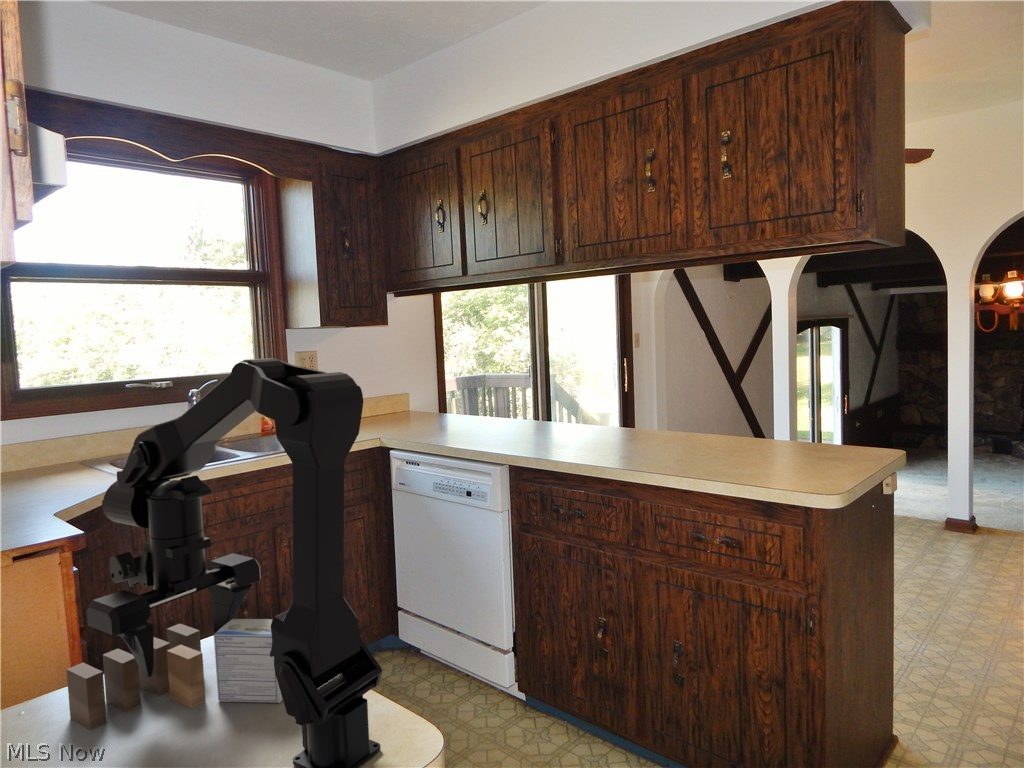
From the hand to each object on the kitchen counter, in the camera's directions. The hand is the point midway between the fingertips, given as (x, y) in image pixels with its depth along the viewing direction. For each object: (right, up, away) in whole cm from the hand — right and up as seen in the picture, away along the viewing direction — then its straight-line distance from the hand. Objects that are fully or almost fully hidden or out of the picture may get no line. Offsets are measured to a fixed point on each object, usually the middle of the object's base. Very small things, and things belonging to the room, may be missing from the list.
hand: (185, 658), depth 81 cm
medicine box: (+8, -5, +1) cm, 10 cm away
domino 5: (0, -5, 0) cm, 5 cm away
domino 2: (-7, -5, 0) cm, 9 cm away
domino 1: (-9, -6, -4) cm, 12 cm away
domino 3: (-5, -5, +3) cm, 8 cm away
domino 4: (-3, -5, +7) cm, 9 cm away
